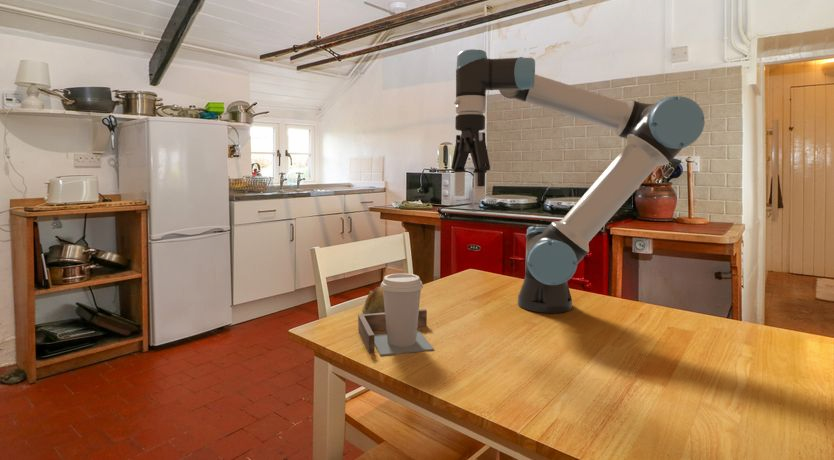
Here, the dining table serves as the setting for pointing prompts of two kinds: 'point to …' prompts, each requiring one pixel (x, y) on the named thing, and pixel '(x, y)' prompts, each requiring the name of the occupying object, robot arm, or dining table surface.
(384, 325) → the walnut corner walls
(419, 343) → the pad
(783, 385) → the dining table surface
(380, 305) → the pastry
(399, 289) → the coffee cup
